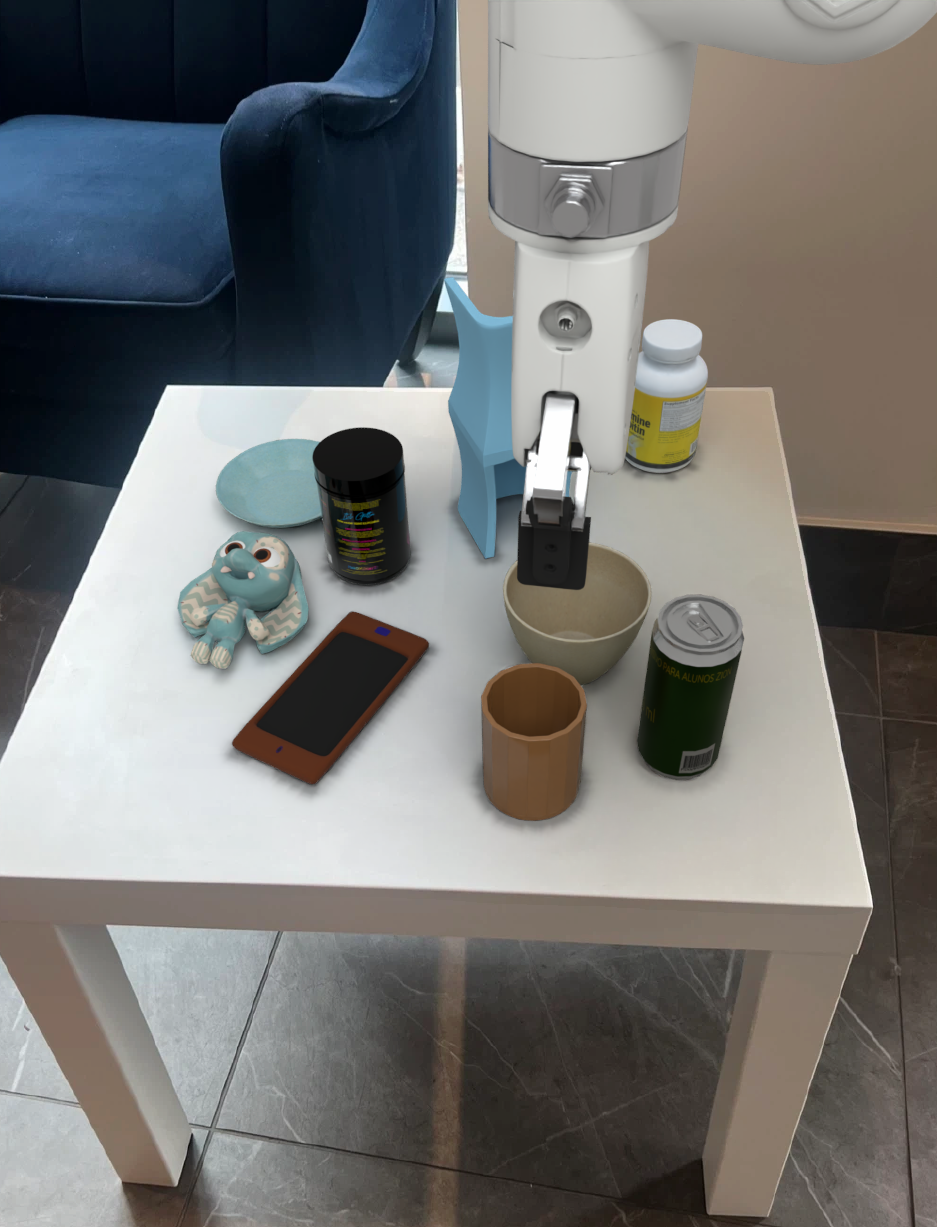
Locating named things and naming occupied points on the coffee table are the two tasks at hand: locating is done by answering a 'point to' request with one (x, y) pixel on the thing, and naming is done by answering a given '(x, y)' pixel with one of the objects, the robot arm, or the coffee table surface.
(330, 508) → the supplement container
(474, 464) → the blue doll chair
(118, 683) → the coffee table surface
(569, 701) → the wooden cup
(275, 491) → the saucer
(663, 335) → the pill bottle
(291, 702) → the smartphone
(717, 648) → the beer can
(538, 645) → the flower pot
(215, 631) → the stuffed animal
